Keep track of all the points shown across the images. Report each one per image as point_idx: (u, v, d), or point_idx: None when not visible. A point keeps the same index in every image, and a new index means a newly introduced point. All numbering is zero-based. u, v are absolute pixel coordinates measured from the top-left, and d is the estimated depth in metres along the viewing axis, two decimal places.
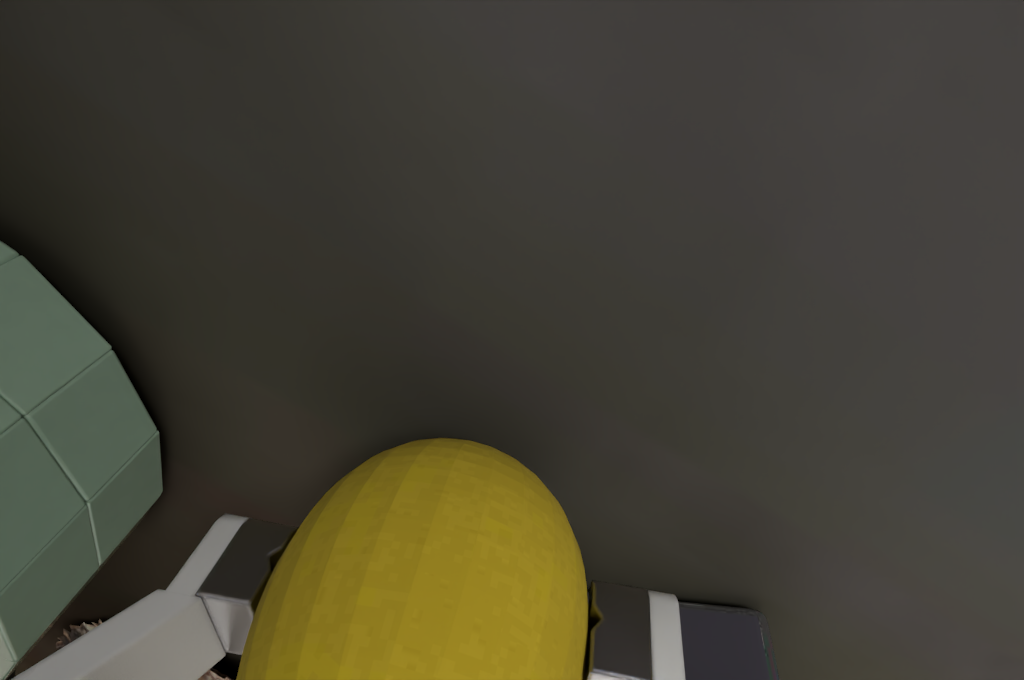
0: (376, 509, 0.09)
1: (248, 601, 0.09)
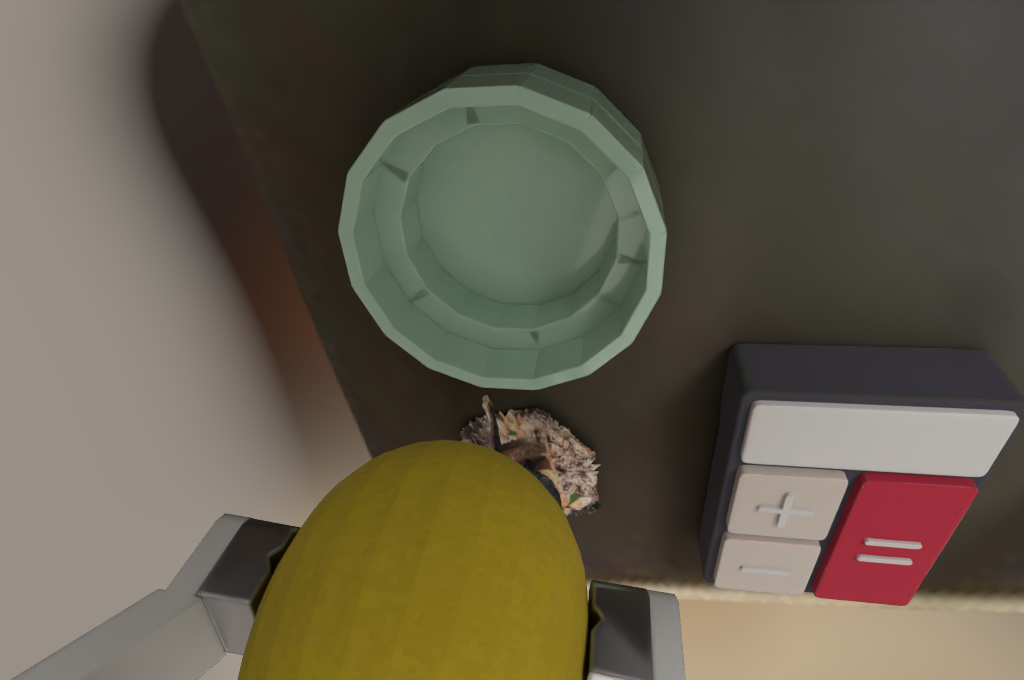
0: (377, 512, 0.09)
1: (248, 601, 0.09)
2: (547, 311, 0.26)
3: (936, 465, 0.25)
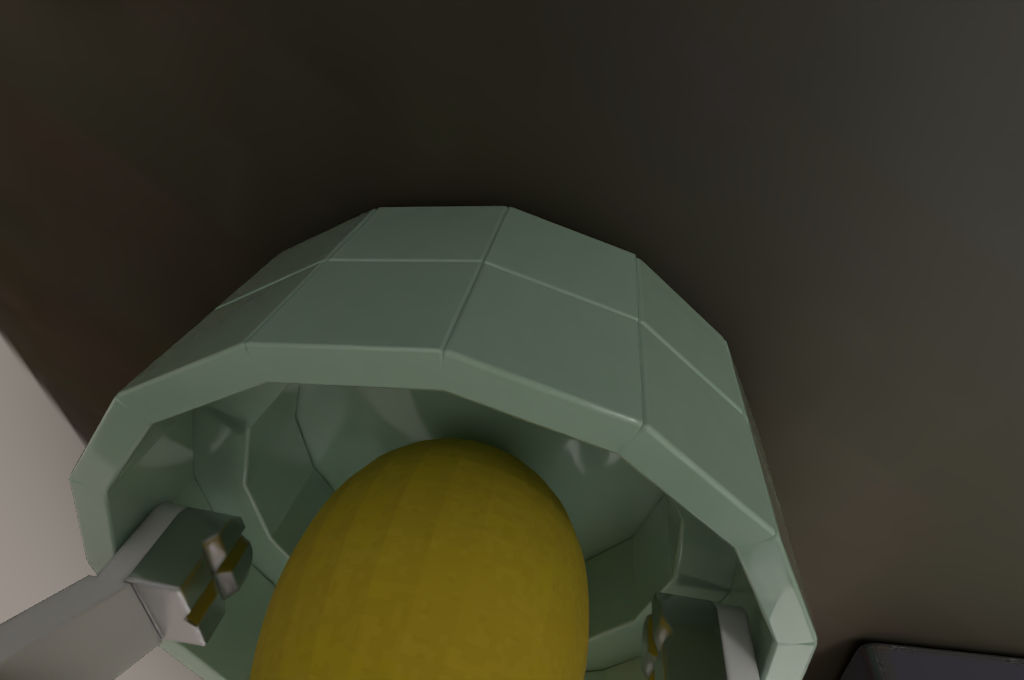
0: (386, 506, 0.09)
1: (176, 588, 0.09)
2: None
3: None
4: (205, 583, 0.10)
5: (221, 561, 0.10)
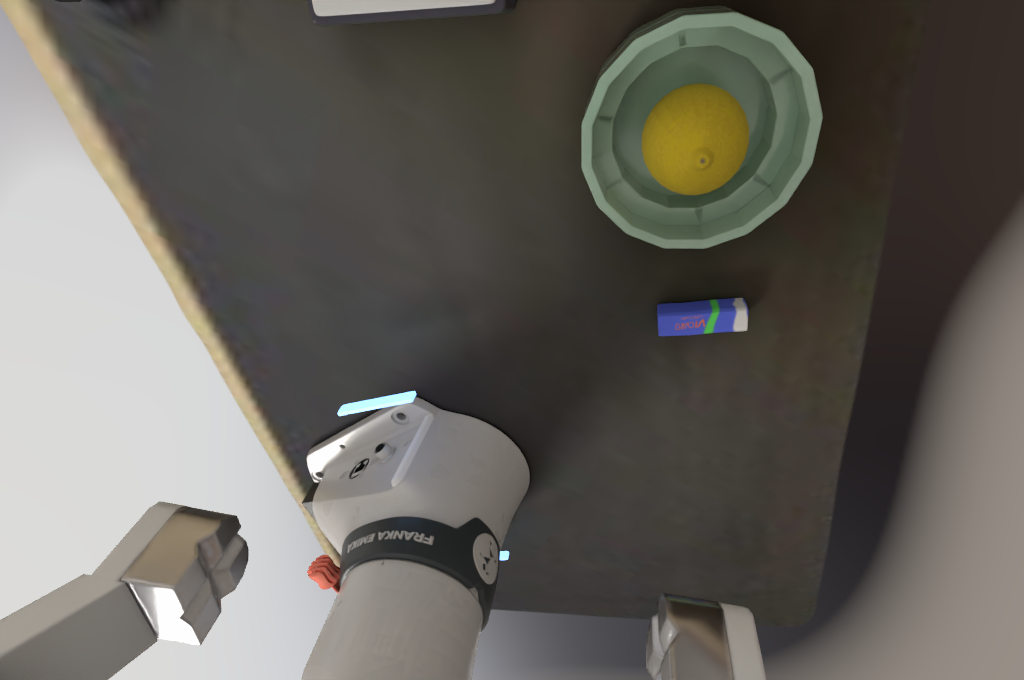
0: None
1: (172, 587, 0.09)
2: None
3: None
4: (200, 582, 0.10)
5: (217, 560, 0.10)
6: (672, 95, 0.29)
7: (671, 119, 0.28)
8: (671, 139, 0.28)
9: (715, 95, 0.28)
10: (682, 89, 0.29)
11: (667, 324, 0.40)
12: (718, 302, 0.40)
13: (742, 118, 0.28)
